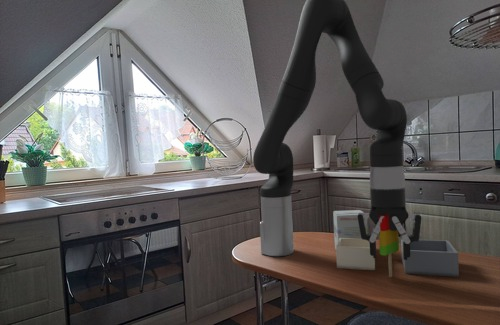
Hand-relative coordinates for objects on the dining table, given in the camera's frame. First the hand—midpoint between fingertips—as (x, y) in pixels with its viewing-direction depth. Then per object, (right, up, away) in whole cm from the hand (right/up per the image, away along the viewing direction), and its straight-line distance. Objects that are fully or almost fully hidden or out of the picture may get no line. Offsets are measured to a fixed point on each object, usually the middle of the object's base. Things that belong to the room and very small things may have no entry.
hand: (389, 257), depth 82 cm
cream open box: (-4, -4, +11) cm, 13 cm away
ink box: (-3, -4, +22) cm, 23 cm away
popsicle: (0, -5, +1) cm, 5 cm away
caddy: (+12, -4, +6) cm, 14 cm away
